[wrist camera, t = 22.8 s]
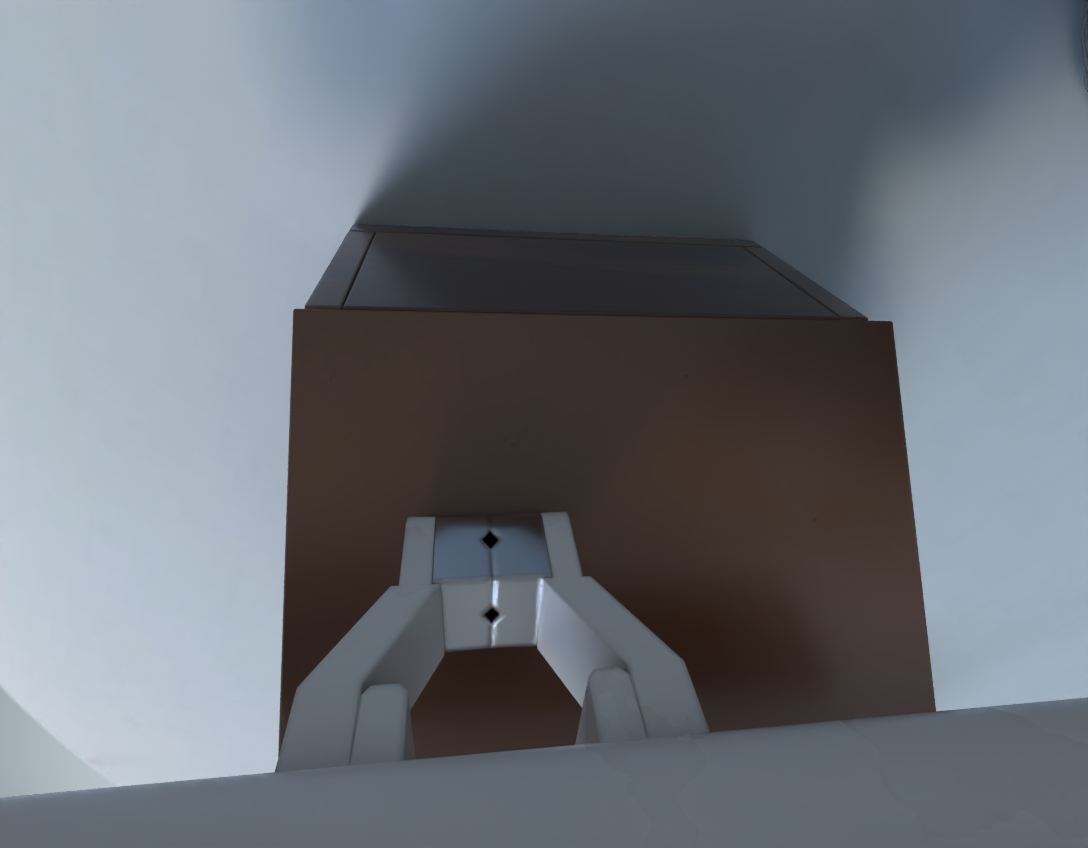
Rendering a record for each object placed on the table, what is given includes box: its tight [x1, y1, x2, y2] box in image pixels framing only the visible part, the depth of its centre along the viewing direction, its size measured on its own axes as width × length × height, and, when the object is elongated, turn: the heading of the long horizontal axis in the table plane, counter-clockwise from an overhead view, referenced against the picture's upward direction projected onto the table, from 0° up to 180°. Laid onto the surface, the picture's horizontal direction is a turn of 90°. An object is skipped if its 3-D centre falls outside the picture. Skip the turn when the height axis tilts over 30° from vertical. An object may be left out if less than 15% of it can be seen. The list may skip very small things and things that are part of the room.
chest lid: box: [278, 309, 936, 759], centre depth 12 cm, size 16×14×1 cm
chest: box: [305, 224, 868, 321], centre depth 20 cm, size 16×14×7 cm
